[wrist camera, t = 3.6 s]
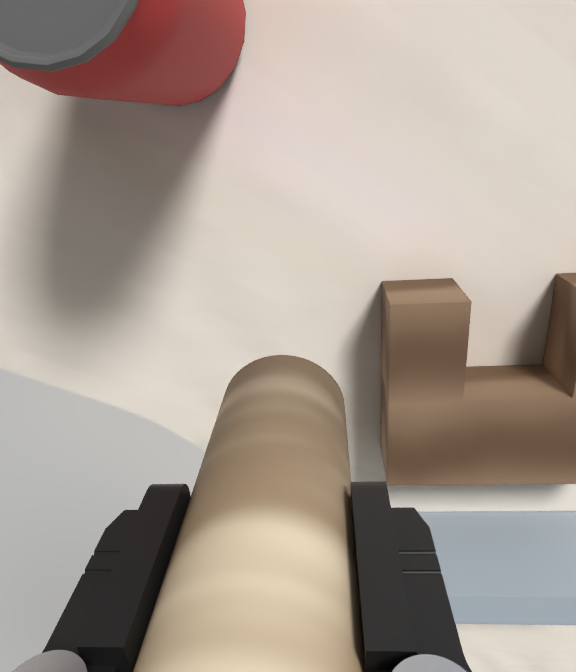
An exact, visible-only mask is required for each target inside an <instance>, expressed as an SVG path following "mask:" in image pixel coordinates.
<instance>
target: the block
mask: <svg viewBox="0 0 576 672" xmlns="http://www.w3.org/2000/svg"><path fill="white" fill-rule="evenodd" d="M470 311H471V301H470V299H469V298H468V297H467V296H466V294H465V293H464V292H463V291H462V289H461V288H460V287H459V286H458V284H457V283H456V282H455V281H454V280H453V278H448V279H425V280H402V281H382V329H381V451H382V457H383V462H384V468H385V474H386V480H387V485H490V484H576V273H563V274H556V280H555V286H554V293H553V300H552V306H551V313H550V320H549V327H548V333H547V340H546V347H545V354H544V360H543V365H513V366H478V367H466V360H467V348H468V336H469V323H470Z"/></svg>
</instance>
